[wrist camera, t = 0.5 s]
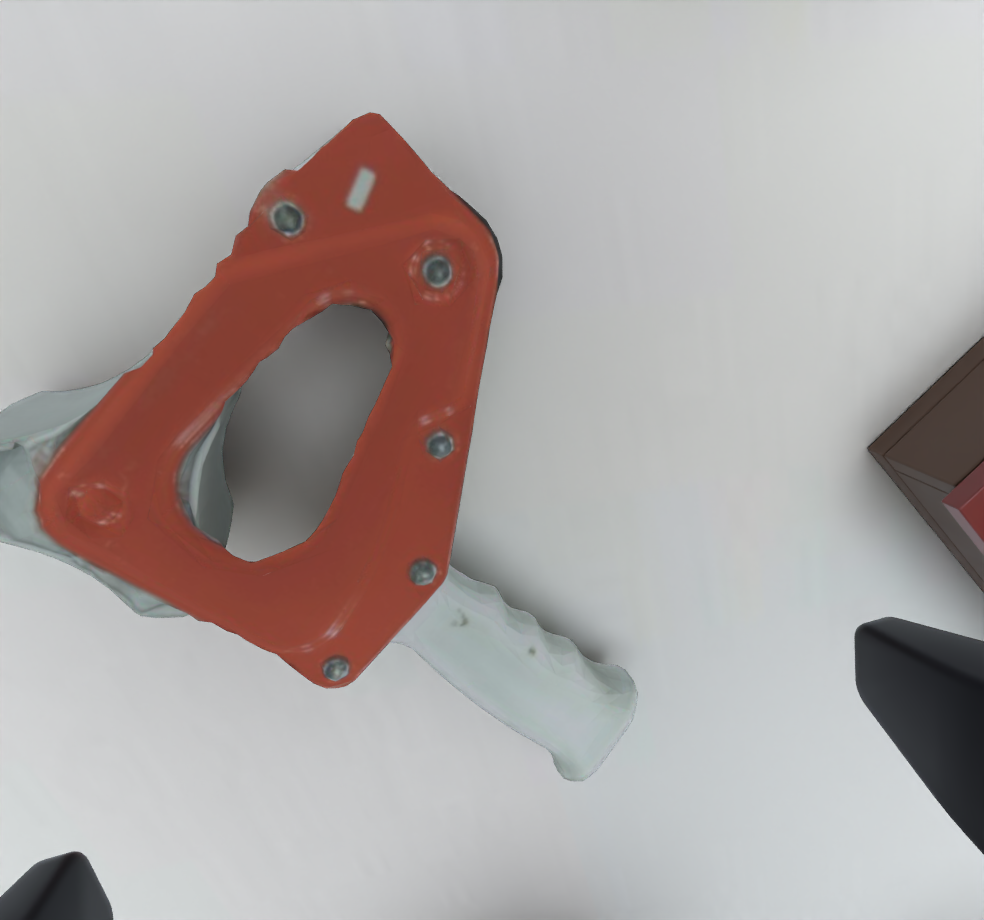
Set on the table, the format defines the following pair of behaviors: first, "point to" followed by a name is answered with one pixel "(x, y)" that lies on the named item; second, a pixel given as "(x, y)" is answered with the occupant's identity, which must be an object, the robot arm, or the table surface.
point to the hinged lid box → (941, 452)
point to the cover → (969, 505)
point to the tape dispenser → (365, 481)
